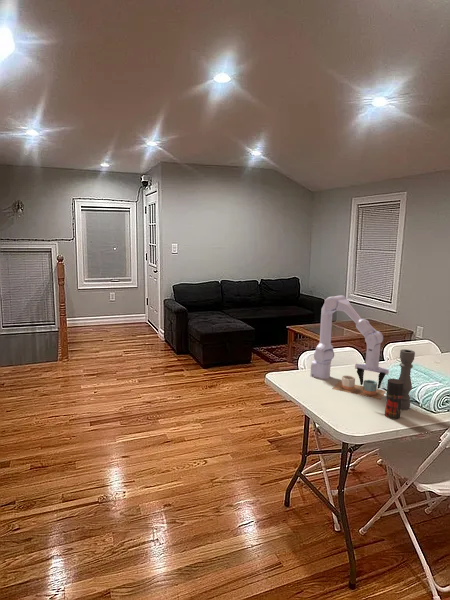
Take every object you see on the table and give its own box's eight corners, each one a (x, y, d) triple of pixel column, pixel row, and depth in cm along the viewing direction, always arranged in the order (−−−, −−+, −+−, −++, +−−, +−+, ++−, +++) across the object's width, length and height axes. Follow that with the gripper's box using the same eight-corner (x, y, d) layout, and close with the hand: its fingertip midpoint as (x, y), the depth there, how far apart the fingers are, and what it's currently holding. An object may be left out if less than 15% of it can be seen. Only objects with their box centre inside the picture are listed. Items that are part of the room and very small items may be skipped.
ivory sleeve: (340, 388, 194) (341, 378, 193) (343, 384, 199) (344, 374, 198) (352, 390, 191) (353, 380, 190) (355, 387, 196) (356, 377, 195)
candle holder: (409, 405, 179) (414, 350, 175) (410, 411, 173) (416, 354, 169) (393, 403, 181) (399, 348, 177) (394, 408, 175) (400, 352, 171)
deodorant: (382, 412, 171) (385, 378, 168) (395, 412, 171) (399, 378, 169) (388, 419, 165) (392, 384, 162) (402, 419, 165) (406, 383, 163)
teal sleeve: (361, 392, 189) (362, 382, 188) (364, 389, 193) (365, 378, 193) (374, 395, 186) (375, 385, 185) (377, 391, 191) (378, 381, 190)
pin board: (331, 391, 193) (332, 380, 192) (338, 383, 203) (339, 373, 202) (380, 402, 182) (381, 390, 181) (385, 393, 192) (386, 382, 191)
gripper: (354, 357, 187) (352, 385, 190) (387, 363, 180) (384, 392, 182) (358, 353, 193) (355, 380, 195) (390, 359, 186) (387, 387, 188)
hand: (370, 386), depth 189 cm, fingers open, 7 cm apart
